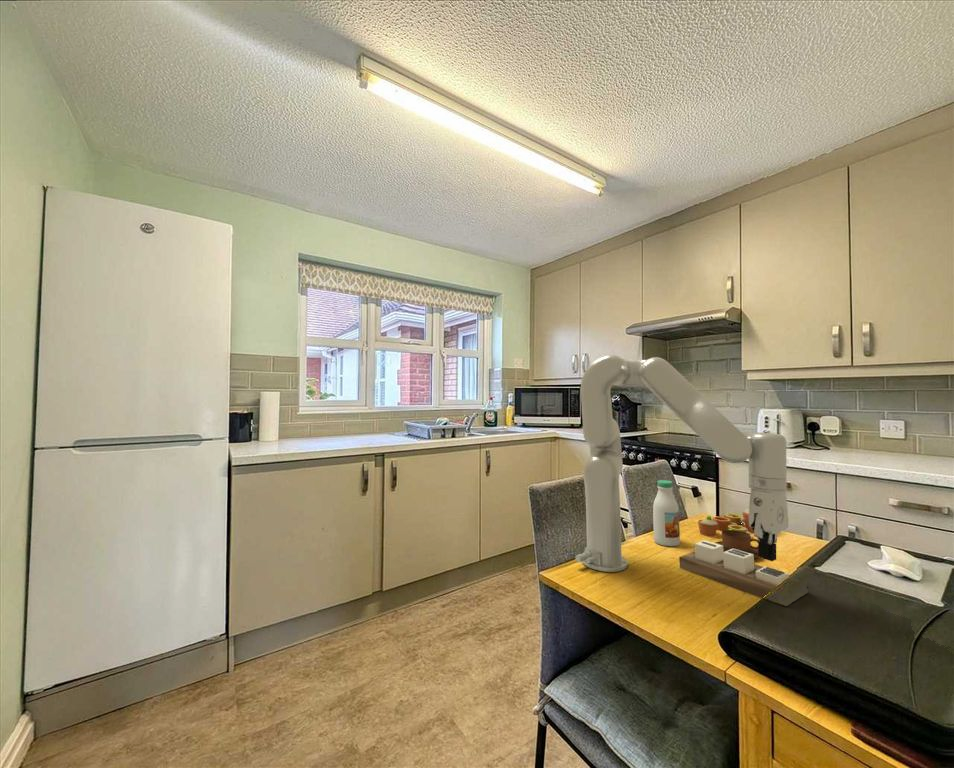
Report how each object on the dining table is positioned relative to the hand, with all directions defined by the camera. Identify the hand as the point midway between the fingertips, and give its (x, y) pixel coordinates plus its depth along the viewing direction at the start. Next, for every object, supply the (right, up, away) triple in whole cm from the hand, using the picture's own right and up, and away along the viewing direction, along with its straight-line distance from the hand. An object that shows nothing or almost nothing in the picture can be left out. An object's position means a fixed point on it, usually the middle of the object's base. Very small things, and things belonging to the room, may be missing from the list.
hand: (767, 558), depth 97 cm
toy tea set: (+19, -10, +42) cm, 47 cm away
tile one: (-7, -6, +12) cm, 15 cm away
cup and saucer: (+7, -9, +23) cm, 25 cm away
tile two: (-3, -5, +6) cm, 8 cm away
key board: (-3, -8, +6) cm, 10 cm away
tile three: (+1, -7, -1) cm, 7 cm away
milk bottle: (-9, -9, +32) cm, 35 cm away
